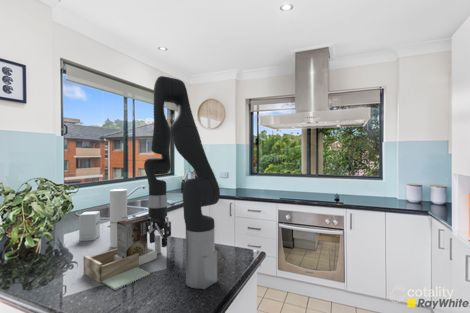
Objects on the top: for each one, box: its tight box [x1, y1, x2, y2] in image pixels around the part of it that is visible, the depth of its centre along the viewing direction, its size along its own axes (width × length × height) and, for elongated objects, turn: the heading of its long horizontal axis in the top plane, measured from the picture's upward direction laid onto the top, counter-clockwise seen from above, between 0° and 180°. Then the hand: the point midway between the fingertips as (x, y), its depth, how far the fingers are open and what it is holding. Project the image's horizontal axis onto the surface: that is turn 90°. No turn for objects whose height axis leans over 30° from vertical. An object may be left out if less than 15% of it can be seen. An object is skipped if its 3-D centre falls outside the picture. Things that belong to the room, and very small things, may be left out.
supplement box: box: [78, 210, 101, 242], centre depth 123 cm, size 7×7×13 cm
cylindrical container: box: [109, 188, 128, 248], centre depth 114 cm, size 7×7×25 cm
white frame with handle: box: [114, 234, 162, 266], centre depth 98 cm, size 9×17×7 cm, turn 143°
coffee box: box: [116, 216, 149, 258], centre depth 95 cm, size 9×6×16 cm
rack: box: [83, 248, 140, 284], centre depth 88 cm, size 12×14×6 cm
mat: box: [102, 267, 151, 291], centre depth 82 cm, size 8×12×1 cm, turn 143°
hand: (158, 244), depth 104 cm, fingers open, 7 cm apart
